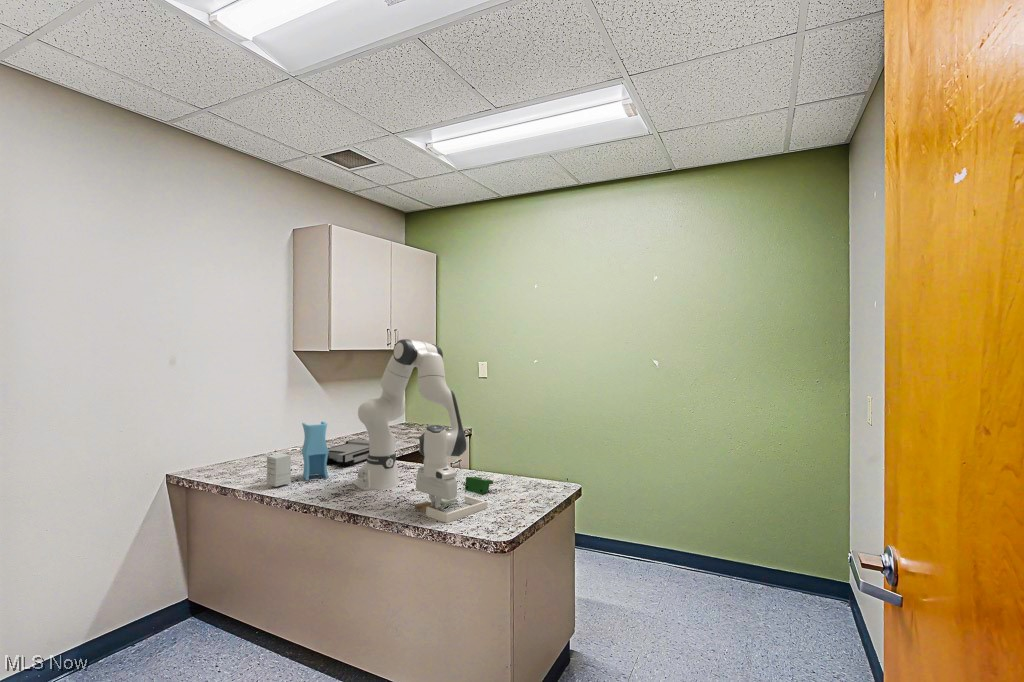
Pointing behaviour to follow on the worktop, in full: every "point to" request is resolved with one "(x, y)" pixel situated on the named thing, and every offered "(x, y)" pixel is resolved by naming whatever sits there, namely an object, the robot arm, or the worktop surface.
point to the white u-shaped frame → (451, 516)
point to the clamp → (477, 485)
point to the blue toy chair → (315, 450)
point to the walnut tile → (423, 506)
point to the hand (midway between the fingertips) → (435, 507)
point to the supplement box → (278, 469)
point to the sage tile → (447, 501)
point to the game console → (349, 453)
